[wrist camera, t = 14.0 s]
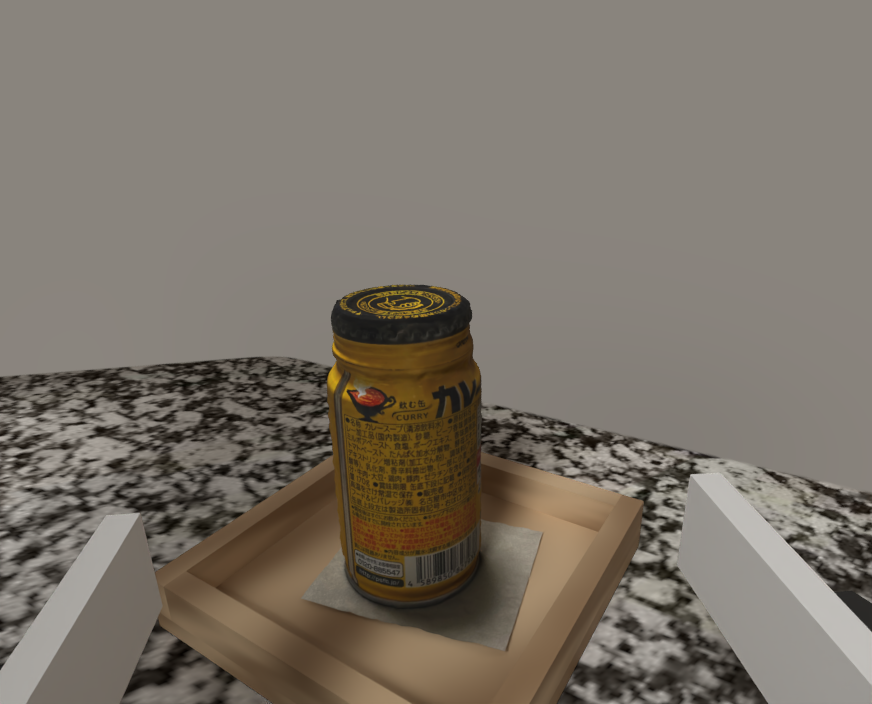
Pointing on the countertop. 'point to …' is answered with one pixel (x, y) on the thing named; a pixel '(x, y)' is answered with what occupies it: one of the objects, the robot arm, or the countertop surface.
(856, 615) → the robot arm
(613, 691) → the countertop surface
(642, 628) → the countertop surface
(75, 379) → the countertop surface
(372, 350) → the condiment
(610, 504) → the tray
